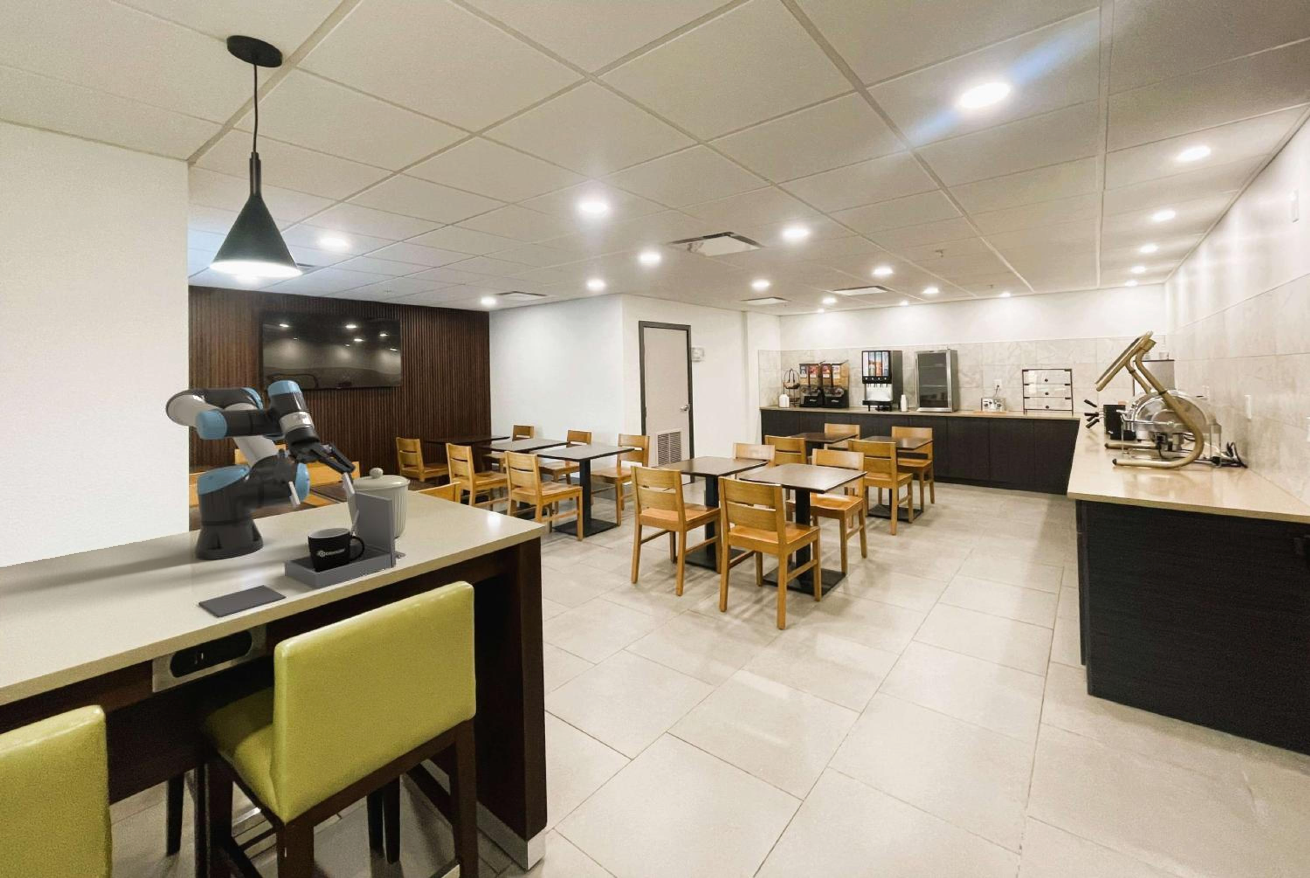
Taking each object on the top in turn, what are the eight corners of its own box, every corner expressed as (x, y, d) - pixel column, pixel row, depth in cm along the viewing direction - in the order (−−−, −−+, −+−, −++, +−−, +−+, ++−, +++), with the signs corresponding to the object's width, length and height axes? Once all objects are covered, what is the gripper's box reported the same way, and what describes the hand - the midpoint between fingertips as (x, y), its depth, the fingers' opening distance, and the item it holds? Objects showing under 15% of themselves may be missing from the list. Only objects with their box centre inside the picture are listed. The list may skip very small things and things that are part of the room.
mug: (311, 581, 132) (307, 539, 131) (310, 570, 140) (307, 531, 139) (367, 572, 138) (365, 532, 137) (364, 562, 146) (362, 524, 145)
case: (285, 575, 137) (279, 505, 135) (362, 554, 152) (358, 492, 150) (316, 589, 127) (310, 514, 125) (396, 566, 142) (392, 499, 140)
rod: (376, 551, 156) (376, 547, 156) (380, 550, 157) (380, 546, 157) (401, 559, 149) (401, 554, 149) (405, 557, 150) (405, 553, 150)
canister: (361, 530, 177) (356, 464, 175) (420, 527, 179) (417, 462, 176) (335, 547, 159) (329, 474, 157) (401, 544, 161) (397, 472, 159)
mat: (198, 604, 119) (198, 602, 119) (263, 586, 129) (263, 585, 129) (219, 617, 112) (219, 615, 112) (286, 598, 122) (285, 596, 122)
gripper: (249, 430, 142) (275, 504, 137) (351, 420, 161) (377, 485, 157) (242, 445, 146) (268, 517, 141) (342, 433, 166) (367, 497, 161)
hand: (325, 500), depth 149 cm, fingers open, 13 cm apart
